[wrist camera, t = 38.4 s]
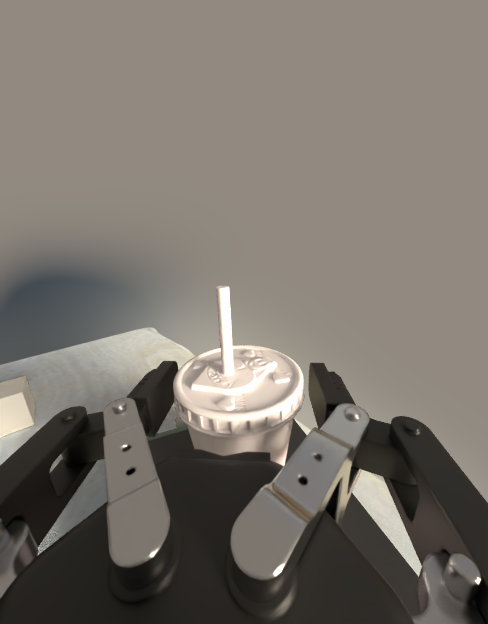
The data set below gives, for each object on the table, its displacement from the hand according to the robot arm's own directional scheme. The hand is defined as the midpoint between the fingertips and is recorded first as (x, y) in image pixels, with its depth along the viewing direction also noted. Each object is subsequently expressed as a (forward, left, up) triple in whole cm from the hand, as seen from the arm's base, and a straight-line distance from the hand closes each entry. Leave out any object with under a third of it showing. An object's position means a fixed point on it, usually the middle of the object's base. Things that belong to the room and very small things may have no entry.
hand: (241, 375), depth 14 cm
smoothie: (+1, -2, -8) cm, 9 cm away
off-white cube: (-42, +4, -19) cm, 46 cm away
